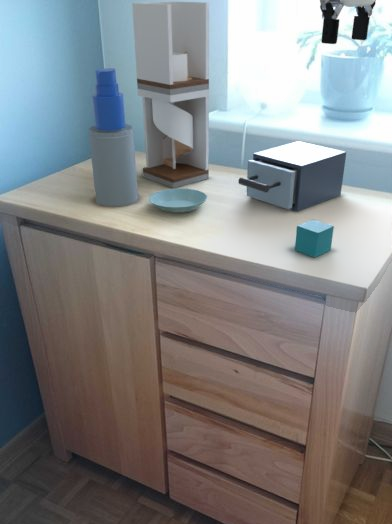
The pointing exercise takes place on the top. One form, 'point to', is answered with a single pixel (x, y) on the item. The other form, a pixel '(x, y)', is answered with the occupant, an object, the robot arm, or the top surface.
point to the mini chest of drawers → (310, 171)
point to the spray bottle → (112, 145)
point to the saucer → (178, 200)
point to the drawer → (271, 183)
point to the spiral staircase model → (174, 89)
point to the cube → (314, 238)
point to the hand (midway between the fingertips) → (344, 41)
